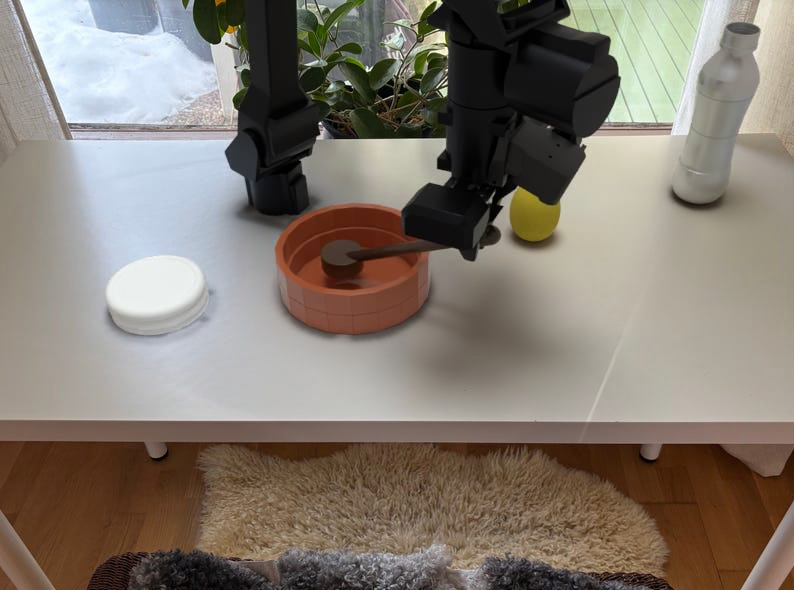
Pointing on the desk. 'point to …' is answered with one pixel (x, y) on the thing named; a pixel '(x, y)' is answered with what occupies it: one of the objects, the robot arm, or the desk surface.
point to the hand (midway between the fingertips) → (473, 253)
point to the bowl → (357, 296)
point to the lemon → (532, 216)
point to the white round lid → (157, 295)
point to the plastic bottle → (718, 115)
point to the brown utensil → (381, 253)
